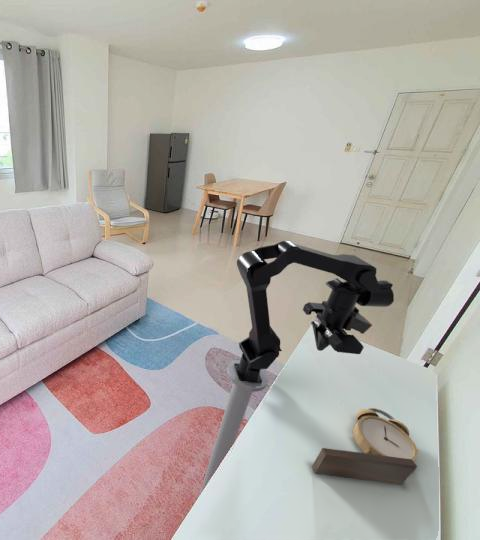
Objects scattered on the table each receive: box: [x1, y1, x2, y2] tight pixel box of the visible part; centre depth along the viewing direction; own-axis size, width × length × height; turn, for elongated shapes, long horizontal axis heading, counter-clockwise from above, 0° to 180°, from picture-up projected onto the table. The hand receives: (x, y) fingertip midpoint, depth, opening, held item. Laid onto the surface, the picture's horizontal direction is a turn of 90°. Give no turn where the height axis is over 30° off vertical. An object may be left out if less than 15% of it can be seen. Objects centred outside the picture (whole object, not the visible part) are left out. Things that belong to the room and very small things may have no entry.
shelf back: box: [311, 447, 418, 486], centre depth 63 cm, size 2×18×7 cm, turn 84°
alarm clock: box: [352, 407, 419, 462], centre depth 71 cm, size 11×5×15 cm
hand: (319, 349), depth 83 cm, fingers closed
